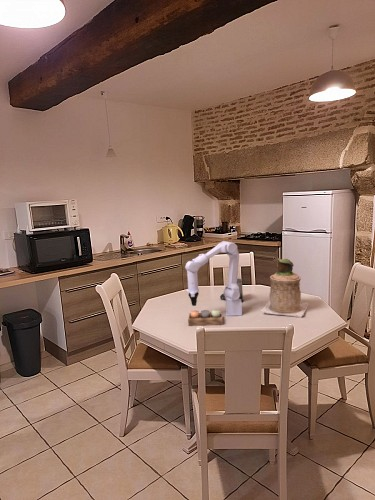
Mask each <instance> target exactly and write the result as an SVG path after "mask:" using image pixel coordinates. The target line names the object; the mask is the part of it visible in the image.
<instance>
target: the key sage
mask: <svg viewBox="0 0 375 500" xmlns="http://www.w3.org/2000/svg"><path fill="white" fill-rule="evenodd" d="M211 312H212V318H214V317H220V312H221V311H220V310H219V309H212V310H211Z"/></svg>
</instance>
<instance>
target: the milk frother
mask: <svg viewBox="0 0 375 500" xmlns="http://www.w3.org/2000/svg"><path fill="white" fill-rule="evenodd" d="M237 285H238V287H239V292H240V297H239V299H241V302H242V303H244V296H243V293H244V292H243V279H242V278H238V277H237ZM219 297H220V299H221V300H223V301H226V297H225V296H224V293H221V294H220V296H219Z"/></svg>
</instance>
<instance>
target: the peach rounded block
mask: <svg viewBox="0 0 375 500" xmlns="http://www.w3.org/2000/svg"><path fill="white" fill-rule="evenodd" d="M190 313H191V318H199V313H200V312H199V310H191V311H190Z"/></svg>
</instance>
